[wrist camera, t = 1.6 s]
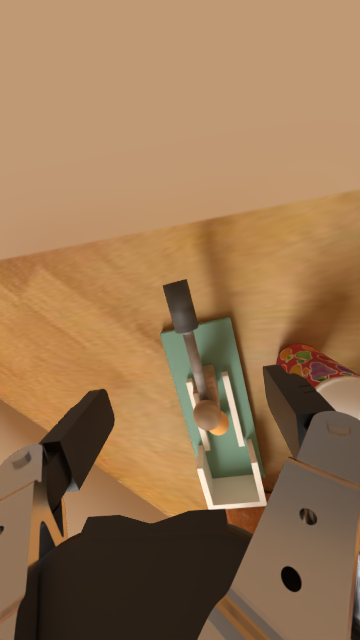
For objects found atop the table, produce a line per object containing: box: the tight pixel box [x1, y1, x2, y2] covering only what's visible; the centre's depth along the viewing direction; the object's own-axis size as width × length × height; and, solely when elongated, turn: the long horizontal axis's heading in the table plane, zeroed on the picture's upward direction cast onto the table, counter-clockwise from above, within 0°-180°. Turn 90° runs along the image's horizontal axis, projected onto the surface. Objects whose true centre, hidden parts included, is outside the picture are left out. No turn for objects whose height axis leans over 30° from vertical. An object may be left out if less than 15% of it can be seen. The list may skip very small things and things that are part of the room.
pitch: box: [160, 316, 267, 510], centre depth 37 cm, size 12×32×6 cm, turn 15°
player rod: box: [163, 279, 222, 431], centre depth 30 cm, size 4×19×12 cm, turn 15°
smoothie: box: [276, 344, 360, 420], centre depth 27 cm, size 8×8×20 cm
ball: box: [210, 411, 229, 435], centre depth 37 cm, size 4×4×4 cm
